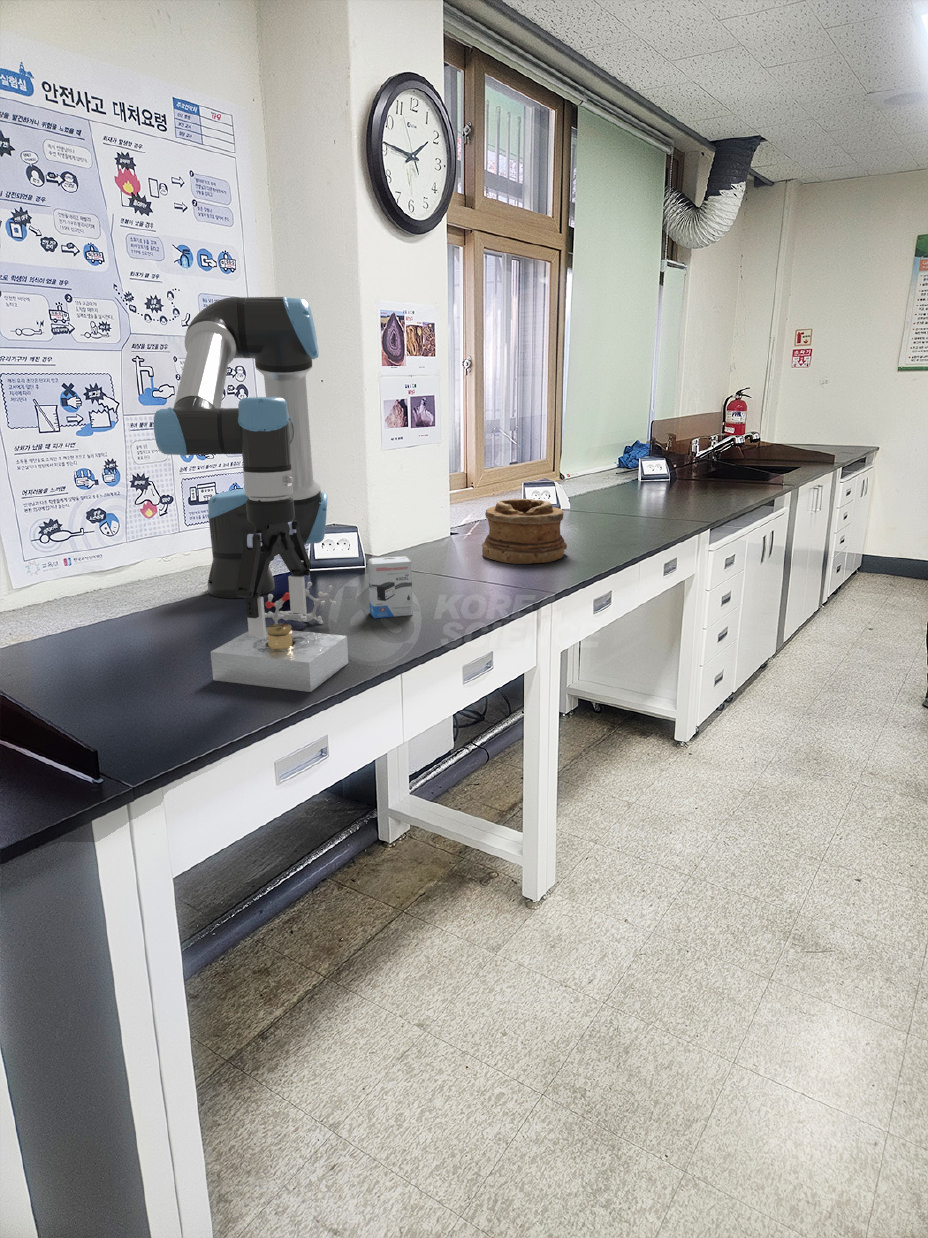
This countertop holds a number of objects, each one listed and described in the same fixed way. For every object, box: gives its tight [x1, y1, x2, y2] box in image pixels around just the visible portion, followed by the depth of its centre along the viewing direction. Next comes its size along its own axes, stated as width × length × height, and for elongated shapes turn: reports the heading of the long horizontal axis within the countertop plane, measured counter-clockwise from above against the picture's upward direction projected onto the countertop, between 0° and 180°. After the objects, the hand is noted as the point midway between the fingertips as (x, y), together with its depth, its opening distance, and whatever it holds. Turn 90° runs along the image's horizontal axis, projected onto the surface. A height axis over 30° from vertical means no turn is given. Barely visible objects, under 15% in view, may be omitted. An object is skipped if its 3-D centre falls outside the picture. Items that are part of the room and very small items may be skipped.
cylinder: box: [266, 622, 293, 649], centre depth 136 cm, size 4×4×8 cm
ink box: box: [367, 555, 414, 619], centre depth 168 cm, size 8×5×12 cm, turn 105°
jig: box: [210, 627, 349, 693], centre depth 136 cm, size 18×14×5 cm
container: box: [481, 498, 568, 565], centre depth 221 cm, size 22×24×15 cm
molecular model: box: [264, 581, 337, 625], centre depth 158 cm, size 19×10×10 cm, turn 148°
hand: (279, 623), depth 135 cm, fingers open, 13 cm apart
